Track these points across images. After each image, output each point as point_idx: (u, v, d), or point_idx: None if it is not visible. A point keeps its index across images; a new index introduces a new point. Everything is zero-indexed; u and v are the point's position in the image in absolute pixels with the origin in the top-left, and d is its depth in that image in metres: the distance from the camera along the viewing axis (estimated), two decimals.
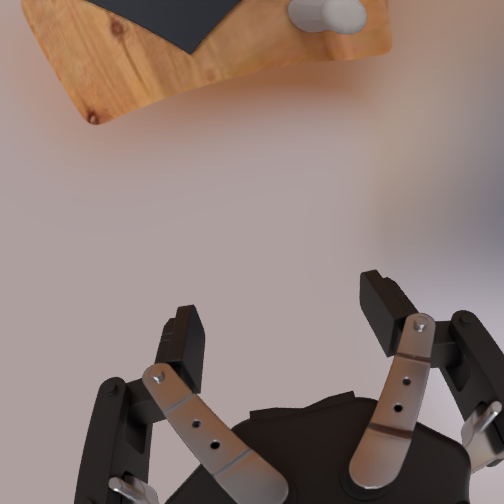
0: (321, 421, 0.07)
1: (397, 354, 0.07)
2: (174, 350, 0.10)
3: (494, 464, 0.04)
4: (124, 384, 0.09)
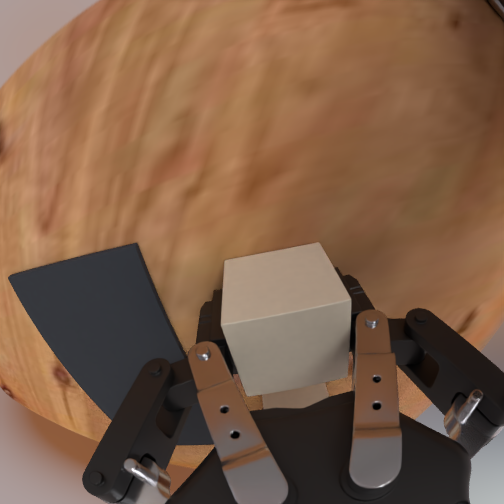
0: (321, 421, 0.07)
1: (358, 355, 0.08)
2: (217, 329, 0.11)
3: (486, 443, 0.05)
4: (169, 368, 0.09)
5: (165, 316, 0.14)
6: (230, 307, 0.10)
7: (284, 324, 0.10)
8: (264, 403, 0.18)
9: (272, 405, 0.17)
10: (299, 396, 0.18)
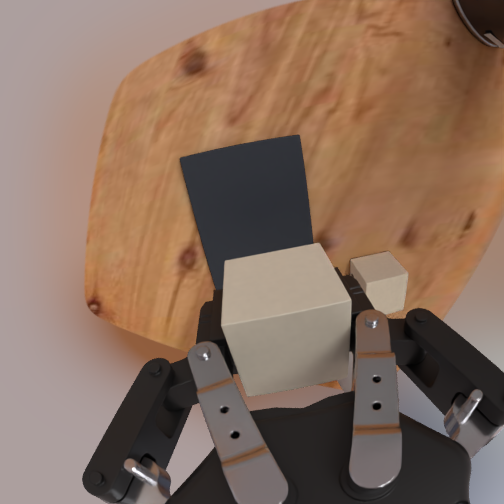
0: (321, 421, 0.07)
1: (358, 355, 0.08)
2: (217, 329, 0.11)
3: (486, 443, 0.05)
4: (169, 368, 0.09)
5: (306, 183, 0.24)
6: (230, 307, 0.10)
7: (285, 324, 0.10)
8: (353, 262, 0.27)
9: (359, 263, 0.27)
10: (375, 257, 0.27)
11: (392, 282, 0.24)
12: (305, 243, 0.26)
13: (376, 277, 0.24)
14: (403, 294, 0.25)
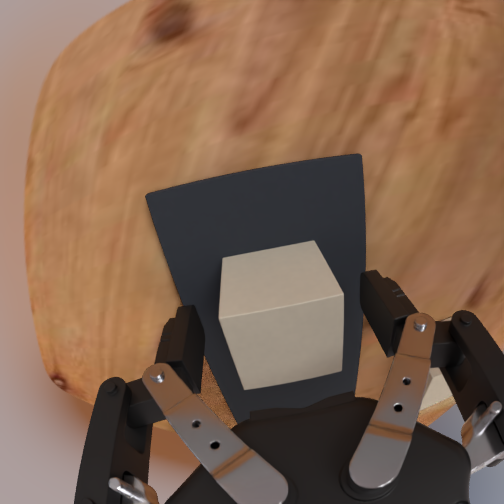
0: (321, 421, 0.07)
1: (397, 354, 0.07)
2: (174, 350, 0.10)
3: (494, 464, 0.04)
4: (124, 384, 0.09)
5: (365, 237, 0.14)
6: (227, 302, 0.11)
7: (279, 318, 0.10)
8: None
9: None
10: None
11: None
12: (352, 323, 0.16)
13: None
14: None
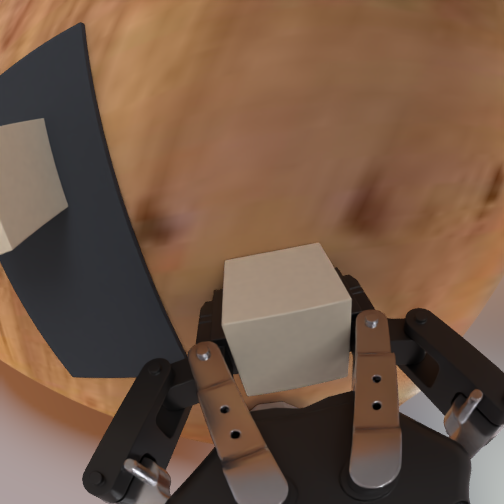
0: (321, 421, 0.07)
1: (358, 355, 0.08)
2: (217, 329, 0.11)
3: (486, 443, 0.05)
4: (169, 367, 0.09)
5: (94, 103, 0.09)
6: None
7: None
8: (226, 268, 0.13)
9: (238, 269, 0.12)
10: (280, 257, 0.13)
11: (305, 322, 0.10)
12: (113, 227, 0.12)
13: (255, 308, 0.10)
14: (343, 348, 0.10)
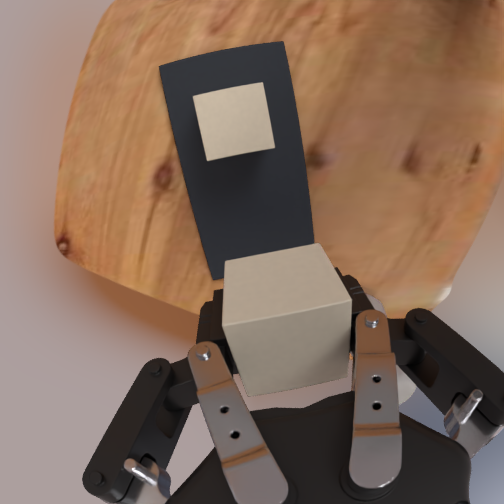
0: (321, 421, 0.07)
1: (358, 355, 0.08)
2: (217, 329, 0.11)
3: (486, 443, 0.05)
4: (169, 368, 0.09)
5: (292, 89, 0.20)
6: None
7: (226, 95, 0.16)
8: (226, 269, 0.13)
9: (238, 270, 0.12)
10: (280, 258, 0.13)
11: (305, 323, 0.10)
12: (295, 156, 0.22)
13: (256, 309, 0.10)
14: (343, 348, 0.10)
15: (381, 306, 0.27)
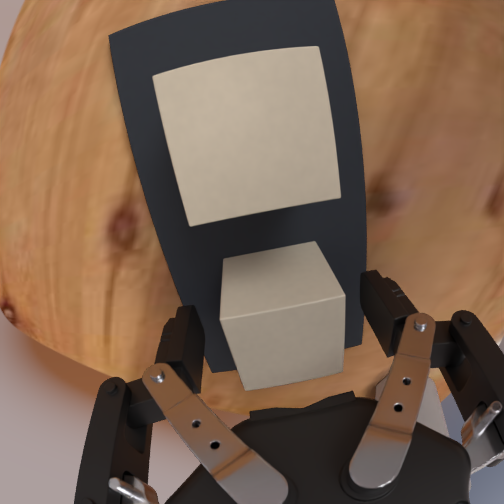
0: (321, 421, 0.07)
1: (397, 354, 0.07)
2: (174, 350, 0.10)
3: (494, 464, 0.04)
4: (124, 384, 0.09)
5: (350, 75, 0.10)
6: None
7: (233, 72, 0.06)
8: (224, 266, 0.13)
9: (236, 267, 0.13)
10: (277, 255, 0.13)
11: (300, 317, 0.10)
12: (351, 195, 0.13)
13: (252, 304, 0.10)
14: (338, 343, 0.11)
15: (435, 389, 0.17)
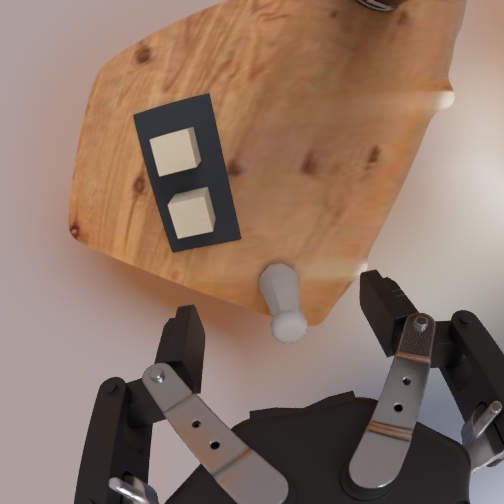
0: (321, 421, 0.07)
1: (397, 354, 0.07)
2: (174, 350, 0.10)
3: (494, 464, 0.04)
4: (124, 384, 0.09)
5: None
6: None
7: (168, 138, 0.29)
8: (174, 195, 0.36)
9: (177, 195, 0.35)
10: (192, 191, 0.36)
11: (191, 204, 0.33)
12: (219, 169, 0.35)
13: (177, 201, 0.33)
14: (206, 216, 0.33)
15: (292, 272, 0.40)
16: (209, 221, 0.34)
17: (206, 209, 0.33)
